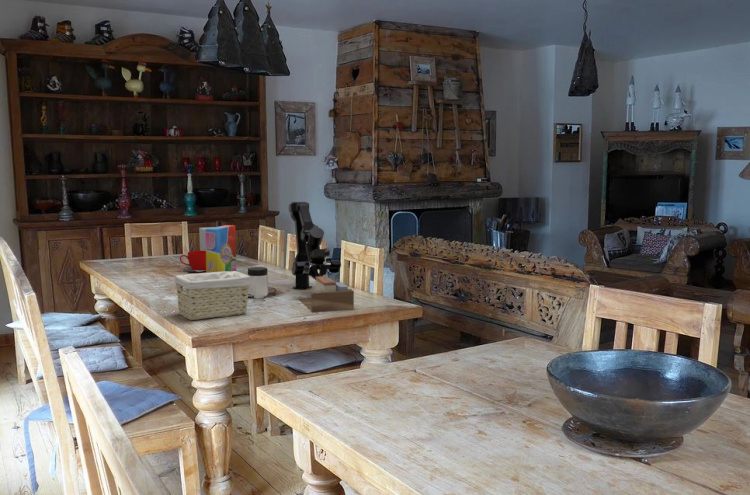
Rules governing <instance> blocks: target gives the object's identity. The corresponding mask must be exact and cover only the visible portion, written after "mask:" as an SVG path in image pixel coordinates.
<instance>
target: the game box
mask: <svg viewBox="0 0 750 495" xmlns="http://www.w3.org/2000/svg"><path fill="white" fill-rule="evenodd" d="M236 233H237V231H236V224H235V225H233V224H231V225H230V224H223V225H220V226H214V228H208V229H205V235H206V272H205V273H211V272H225V271H228V272H232V271H236V272H237V246H236V245H237V244H236V243H237V242H236V240H237V239H236V238H237V236H236V235H237V234H236Z"/></svg>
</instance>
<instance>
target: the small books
mask: <svg viewBox="0 0 750 495" xmlns="http://www.w3.org/2000/svg"><path fill="white" fill-rule="evenodd" d="M335 282H336V291H351V290H353V288H351V287H349V285H346V284H345V283H343V282H341V281H338V282H337V281H335Z"/></svg>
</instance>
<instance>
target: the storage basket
mask: <svg viewBox="0 0 750 495" xmlns="http://www.w3.org/2000/svg"><path fill="white" fill-rule="evenodd" d="M174 279H175V280H174V281H175V287H176V294H177V303H178V304H177V306H178V314H180V315H181V316H182V317H184V318H186V319H188V320H190V321H197V320H206V319H213V318H225V317H226V318H227V317H230V316H240V315H244V314H245V315H246V314H247V311H248V310H247V309H248V299H249V298H248V289H249V285H250V276H248V274H245V273H242V272H239V271H237V270H236V271H232V272H228V271H225V272H211V273H206V272H197V273H188V274H180V275H179V274H177V275H175V277H174Z"/></svg>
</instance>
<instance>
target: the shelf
mask: <svg viewBox="0 0 750 495" xmlns="http://www.w3.org/2000/svg"><path fill="white" fill-rule="evenodd" d="M354 294H355V291H354V290H353V289H352V290H351V291H334V292H317V293H316V292H311V293H310V295H311V296H310V298H298V299H297V300H298V301H299V302H301V303H302V305H304V306H305V307H306V309H308V310H309V311H310V312H312V313H319V312H321V313H322V312H323V313H324V312H334V311H335V312H337V311H353V310H355V309H354V306H355V301H354V298H355V297H354V296H355V295H354ZM308 305H311V309H310V308H309V307H308Z"/></svg>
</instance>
